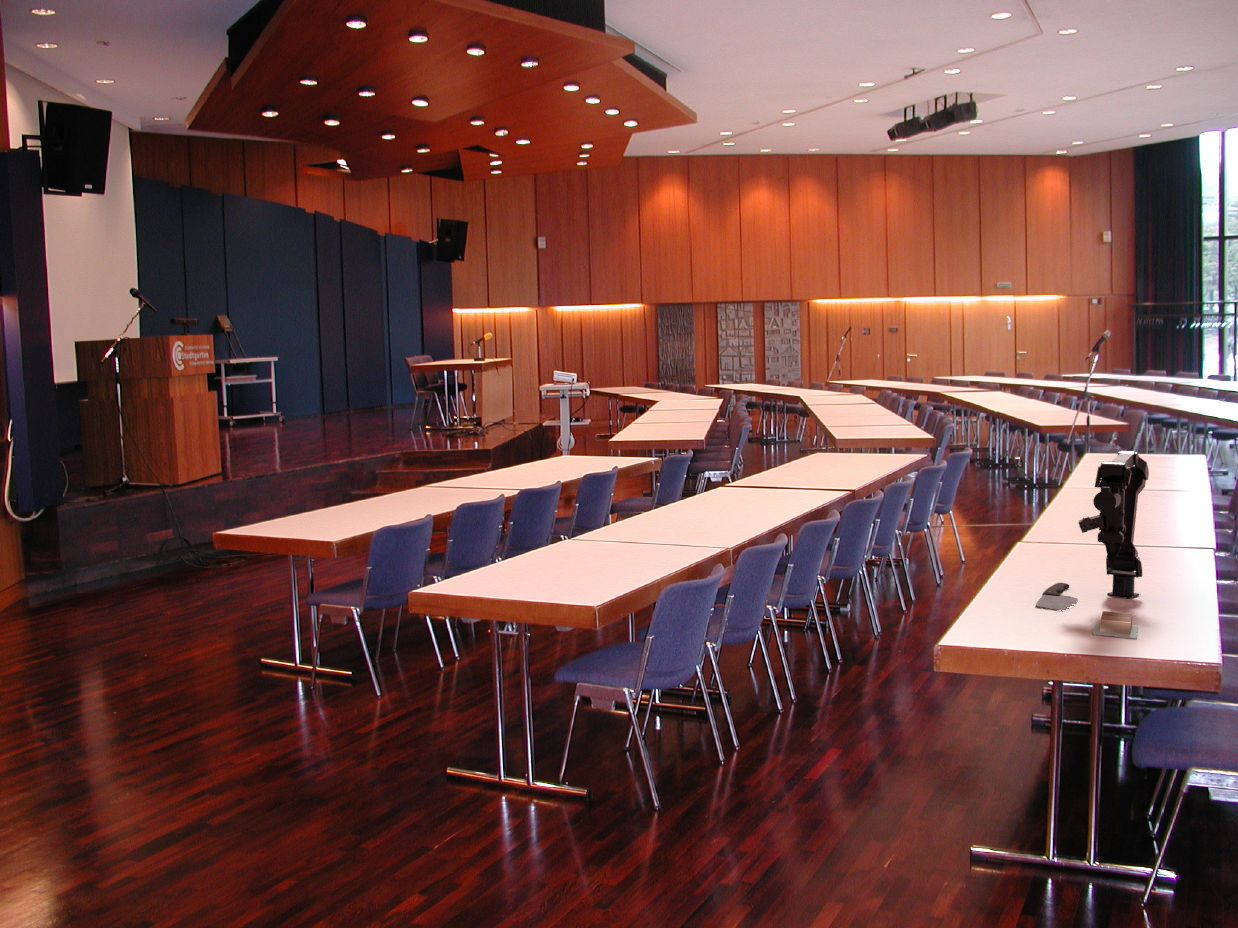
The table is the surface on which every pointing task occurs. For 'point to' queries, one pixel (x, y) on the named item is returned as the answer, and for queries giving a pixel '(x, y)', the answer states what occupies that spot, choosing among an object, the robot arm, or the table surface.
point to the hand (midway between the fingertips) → (1111, 562)
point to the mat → (1119, 635)
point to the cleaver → (1056, 598)
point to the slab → (1116, 622)
